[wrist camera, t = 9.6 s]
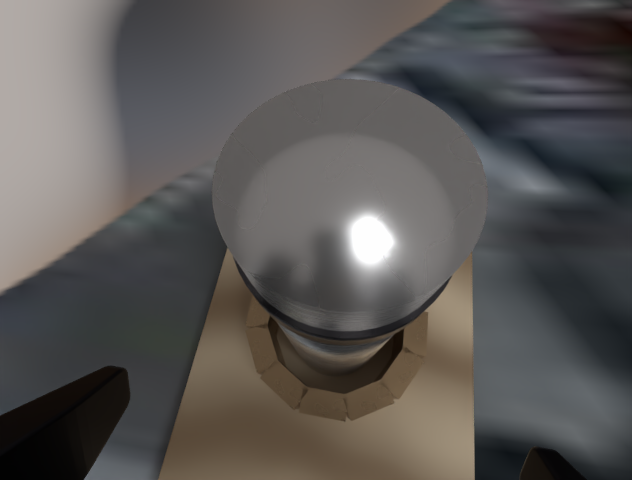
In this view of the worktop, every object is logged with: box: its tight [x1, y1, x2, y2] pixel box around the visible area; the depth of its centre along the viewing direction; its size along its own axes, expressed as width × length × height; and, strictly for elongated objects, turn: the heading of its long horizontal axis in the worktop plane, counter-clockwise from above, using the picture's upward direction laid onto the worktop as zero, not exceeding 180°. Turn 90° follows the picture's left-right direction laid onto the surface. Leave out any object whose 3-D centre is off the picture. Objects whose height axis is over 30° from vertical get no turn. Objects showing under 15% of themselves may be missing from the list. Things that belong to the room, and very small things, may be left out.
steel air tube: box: [212, 79, 488, 377], centre depth 12 cm, size 5×5×14 cm
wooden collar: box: [245, 296, 428, 422], centre depth 17 cm, size 8×8×3 cm
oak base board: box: [158, 248, 475, 480], centre depth 19 cm, size 18×14×2 cm
